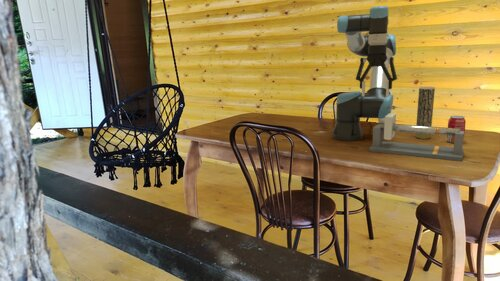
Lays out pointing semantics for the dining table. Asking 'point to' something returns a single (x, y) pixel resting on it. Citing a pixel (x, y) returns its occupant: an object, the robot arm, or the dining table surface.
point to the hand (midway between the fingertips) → (375, 96)
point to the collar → (389, 126)
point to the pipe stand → (418, 147)
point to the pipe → (422, 129)
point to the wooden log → (425, 109)
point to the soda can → (456, 126)
